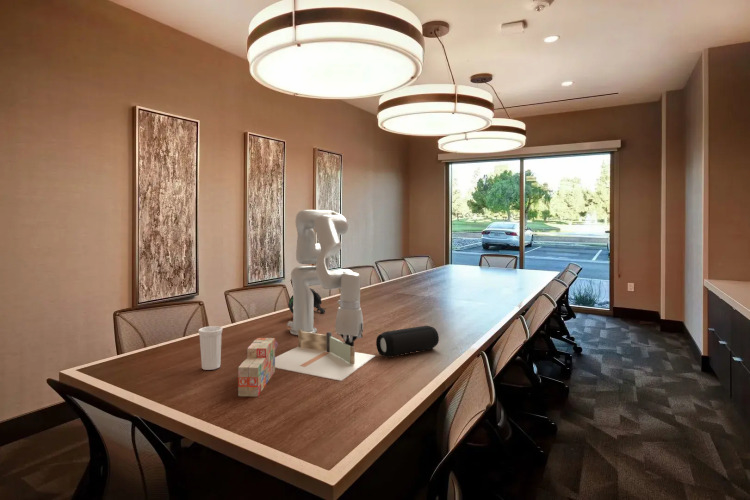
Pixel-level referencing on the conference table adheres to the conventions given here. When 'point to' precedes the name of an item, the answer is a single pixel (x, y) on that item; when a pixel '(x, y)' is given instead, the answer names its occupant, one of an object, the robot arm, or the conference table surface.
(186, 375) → the conference table surface
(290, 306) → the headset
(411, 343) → the portable speaker
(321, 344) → the fixed fence section
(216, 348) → the cup
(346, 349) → the folding fence panel
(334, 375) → the card
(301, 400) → the conference table surface
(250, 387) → the stack of blocks
